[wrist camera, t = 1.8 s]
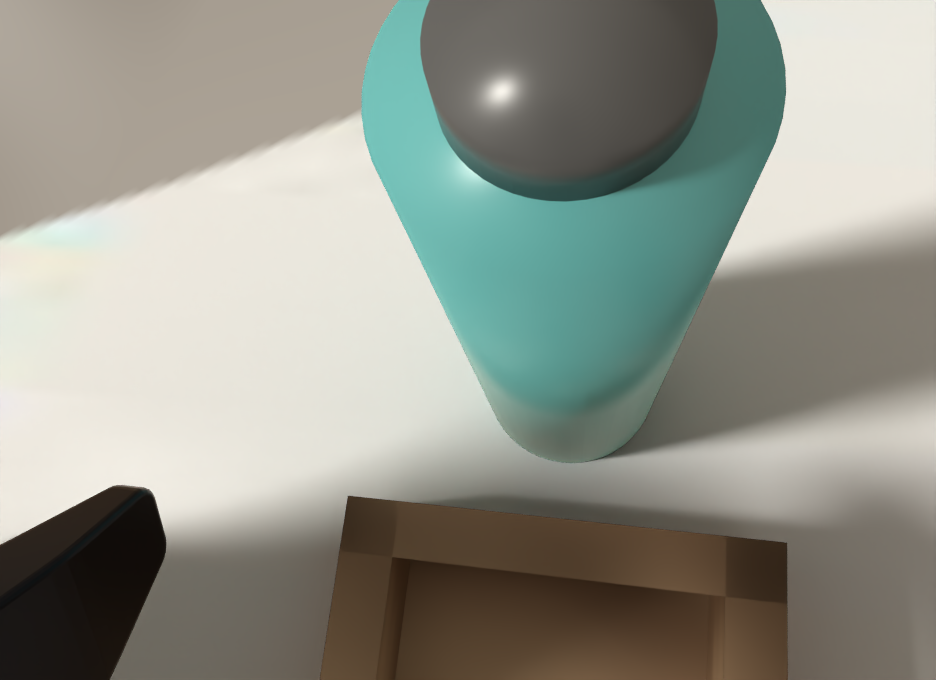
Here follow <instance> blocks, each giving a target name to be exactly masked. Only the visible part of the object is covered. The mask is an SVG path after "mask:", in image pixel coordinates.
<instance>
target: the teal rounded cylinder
mask: <svg viewBox="0 0 936 680" xmlns="http://www.w3.org/2000/svg"><path fill="white" fill-rule="evenodd" d="M785 96H786V78H785V65H784V60H783V54H782V49H781V44H780V41H779V39H778V36H777V33H776V30H775V28H774V25H773V22H772V20H771V18H770V17H769V15H768V13H767V11H766V9H765V7H764V6H763V4H762V2H761V0H399V1H398V3H397V4H396V5H395V6H394V7H393V9H392V11H391V12H390V14H389V15H388V17H387V19H386V20H385V22H384V24H383V25H382V27H381V29H380V31H379V33H378V35H377V38H376V40H375V42H374V44H373V46H372V49H371V52H370V56H369V59H368V62H367V66H366V70H365V75H364V81H363V88H362V121H363V128H364V135H365V140H366V143H367V146H368V150H369V153H370V156H371V159H372V162H373V164H374V166H375V168H376V170H377V172H378V174H379V177H380V179H381V181H382V183H383V185H384V187H385V189H386V191H387V193H388V195H389V197H390V199H391V201H392V203H393V205H394V207H395V209H396V212H397V214H398V216H399V218H400V220H401V222H402V224H403V226H404V228H405V230H406V232H407V234H408V236H409V238H410V240H411V242H412V244H413V247H414V249H415V251H416V253H417V255H418V257H419V259H420V261H421V263H422V265H423V267H424V269H425V271H426V273H427V275H428V277H429V279H430V282H431V284H432V286H433V288H434V290H435V292H436V294H437V296H438V298H439V300H440V302H441V304H442V306H443V308H444V310H445V312H446V315H447V317H448V319H449V321H450V323H451V325H452V327H453V329H454V331H455V333H456V335H457V337H458V339H459V341H460V343H461V345H462V347H463V350H464V352H465V354H466V356H467V358H468V360H469V362H470V364H471V366H472V368H473V370H474V372H475V374H476V376H477V378H478V380H479V382H480V385H481V387H482V389H483V391H484V393H485V395H486V397H487V399H488V401H489V403H490V405H491V407H492V409H493V411H494V413H495V415H496V417H497V420H498V421H499V423H500V424H501V426H502V427H503V429H504V430H505V431H506V433H507V434H508V435H509V436H510V437H511V438H512V439H513V440H514V441H515V442H516V443H517V444H519V445H520V446H521V447H523V448H524V449H526V450H527V451H529V452H531V453H533V454H535V455H537V456H539V457H542V458H545V459H548V460H552V461H557V462H565V463H578V462H586V461H591V460H595V459H598V458H601V457H604V456H606V455H608V454H610V453H612V452H614V451H616V450H617V449H619V448H620V447H622V446H623V445H624V444H626V443H627V442H628V441H629V440H630V439H631V438H632V437H633V436H634V435H635V434H636V432H637V431H638V430H639V429H640V427H641V426H642V424H643V423H644V421H645V419H646V417H647V415H648V412H649V410H650V408H651V406H652V404H653V402H654V400H655V398H656V395H657V393H658V391H659V389H660V387H661V385H662V383H663V381H664V378H665V376H666V374H667V372H668V370H669V368H670V366H671V364H672V361H673V359H674V357H675V355H676V353H677V351H678V349H679V347H680V344H681V342H682V340H683V338H684V336H685V334H686V332H687V330H688V327H689V325H690V323H691V321H692V319H693V317H694V315H695V313H696V310H697V308H698V306H699V304H700V302H701V300H702V298H703V296H704V293H705V291H706V289H707V287H708V285H709V283H710V281H711V279H712V276H713V274H714V272H715V270H716V268H717V266H718V264H719V262H720V259H721V257H722V255H723V253H724V251H725V249H726V247H727V245H728V242H729V240H730V238H731V236H732V234H733V232H734V230H735V228H736V225H737V223H738V221H739V219H740V217H741V215H742V213H743V211H744V208H745V206H746V204H747V202H748V200H749V198H750V196H751V194H752V191H753V189H754V187H755V185H756V183H757V181H758V179H759V177H760V174H761V172H762V170H763V168H764V166H765V164H766V162H767V159H768V157H769V155H770V153H771V151H772V149H773V147H774V145H775V142H776V139H777V136H778V132H779V129H780V125H781V122H782V119H783V112H784V104H785Z"/></svg>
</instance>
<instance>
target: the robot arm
mask: <svg viewBox="0 0 936 680" xmlns="http://www.w3.org/2000/svg"><path fill="white" fill-rule="evenodd" d="M165 553H166V537H165V533H164V530H163V526H162V522H161V519H160V515H159V511H158V508H157V504H156V500H155V497H154V495H153V493H152V492H151V491H150V490H149V489H146V488H144V487H135V486H126V485H116V486H112V487H110V488H108V489H106V490H104V491H102V492H100V493H98V494H96V495H95V496H93V497H91V498H89V499H87V500H85V501H83V502H81V503H79V504H77V505H76V506H74V507H72V508H70V509H68V510H66V511H64V512H62V513H60V514H58V515H57V516H55V517H53V518H51V519H49V520H47V521H45V522H43V523H41V524H39V525H37V526H36V527H34V528H32V529H30V530H28V531H26V532H24V533H22V534H20V535H18V536H16V537H15V538H13V539H11V540H9V541H7V542H5V543H3V544H1V545H0V680H110V678H111V676H112V674H113V672H114V669H115V667H116V665H117V663H118V661H119V659H120V657H121V655H122V652H123V650H124V648H125V646H126V643H127V641H128V639H129V637H130V634H131V632H132V630H133V628H134V625H135V623H136V621H137V619H138V616H139V614H140V612H141V610H142V607H143V605H144V603H145V601H146V598H147V596H148V594H149V592H150V589H151V587H152V585H153V583H154V580H155V578H156V576H157V574H158V571H159V569H160V567H161V565H162V562H163V560H164V556H165Z"/></svg>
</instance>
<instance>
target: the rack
mask: <svg viewBox="0 0 936 680" xmlns="http://www.w3.org/2000/svg"><path fill="white" fill-rule="evenodd" d="M320 680H788V662H787V543H784V542H775V541H766V540H756V539H747V538H738V537H728V536H719V535H710V534H700V533H691V532H681V531H672V530H663V529H653V528H644V527H635V526H625V525H616V524H607V523H597V522H588V521H579V520H569V519H560V518H551V517H541V516H532V515H523V514H513V513H504V512H495V511H485V510H476V509H467V508H457V507H448V506H439V505H429V504H420V503H411V502H401V501H392V500H382V499H373V498H364V497H354V496H348V499H347V506H346V512H345V519H344V525H343V532H342V538H341V545H340V551H339V558H338V564H337V571H336V577H335V583H334V590H333V596H332V603H331V609H330V616H329V622H328V629H327V635H326V642H325V648H324V655H323V661H322V668H321V674H320Z"/></svg>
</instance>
